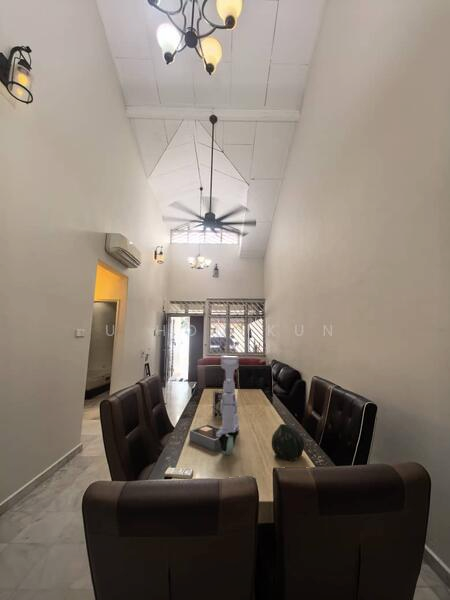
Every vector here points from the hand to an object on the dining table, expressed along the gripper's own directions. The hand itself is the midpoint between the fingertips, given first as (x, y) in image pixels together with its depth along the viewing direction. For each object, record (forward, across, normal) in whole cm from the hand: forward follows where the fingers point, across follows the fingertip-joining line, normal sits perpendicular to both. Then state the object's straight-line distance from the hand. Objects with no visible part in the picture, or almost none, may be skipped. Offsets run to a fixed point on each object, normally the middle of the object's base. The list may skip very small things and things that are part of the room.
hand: (227, 448), depth 124 cm
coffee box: (+2, +36, +37) cm, 52 cm away
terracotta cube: (+1, +3, +18) cm, 18 cm away
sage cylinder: (+2, 0, 0) cm, 2 cm away
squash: (+2, +16, -23) cm, 28 cm away
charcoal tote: (+2, +3, +14) cm, 14 cm away
